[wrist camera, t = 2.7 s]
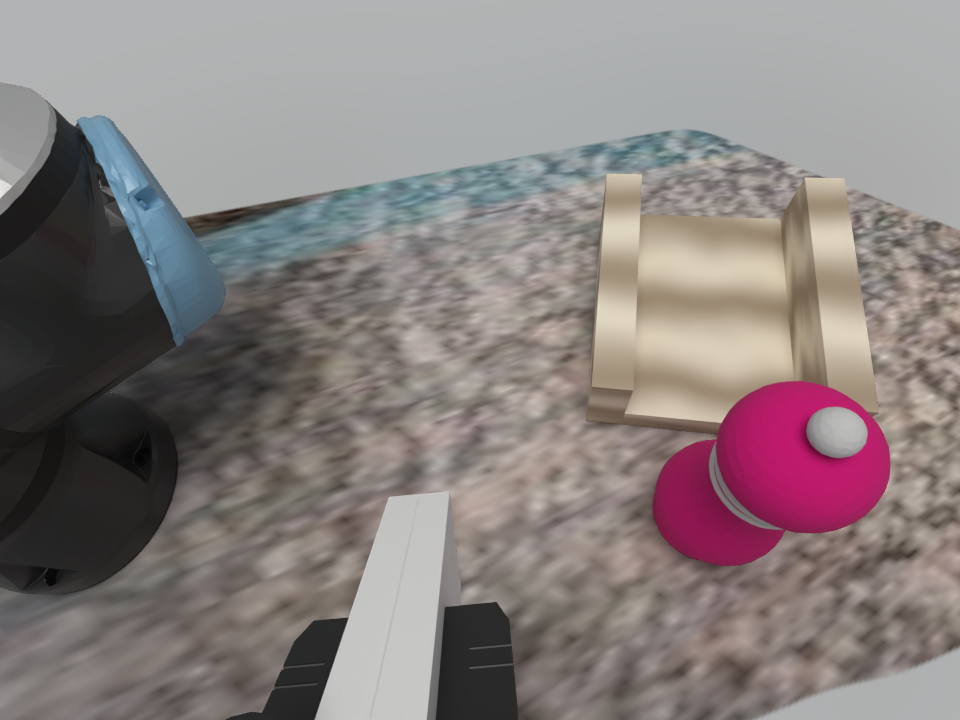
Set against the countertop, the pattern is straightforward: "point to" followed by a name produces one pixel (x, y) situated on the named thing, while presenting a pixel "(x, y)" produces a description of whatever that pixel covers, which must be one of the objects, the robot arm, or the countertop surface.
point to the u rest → (723, 308)
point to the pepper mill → (772, 474)
